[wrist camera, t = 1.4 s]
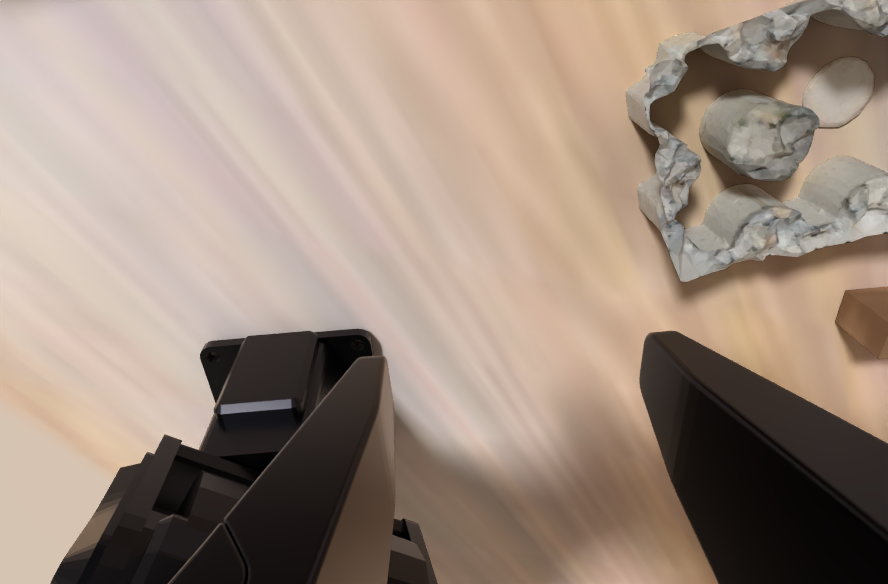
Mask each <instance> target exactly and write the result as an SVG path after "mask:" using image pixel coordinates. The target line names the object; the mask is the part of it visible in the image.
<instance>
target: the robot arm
mask: <svg viewBox="0 0 888 584" xmlns="http://www.w3.org/2000/svg"><path fill="white" fill-rule="evenodd" d="M355 340H360V341H362V342H363V344H361V345H356V344H354V343H353V341H355ZM211 352H215V353H217V354H219V357H215V356H213V355H212V354H211ZM200 359H201V362H202V365H203V368H204V371H205V374H206V376H207V379H208V382H209V385H210V388H211V391H212V394H213V397H214V400H215V403H216V405H215V407H214V415H213V417H212V420H211V422H210V424H209V427H208V429H207V431H206V434H205V436H204V439H203V441H202V443H201V446H200V448H199V450H197V449H194V448H191V447H188V446H185V445H182V444H181V442H182V440H179V439H176V438H173V437H170V436H168V435H164V437H163V439H162V440H161V442H160V444H159V446H158V448H157V450H156V452H155V454H152V453H149V452H147V453H146V455H145V457H144V458H143V460H142V462H141V463H140V464H135V465H131V466H127V467H122V468H120V469H119V471H118V473H117V475H116V477H115V478H114V480H113V482H112V484H111V486H110V487H109V489H108V491H107V493H106V494H105V496H104V498H103V500H102V501H101V503H100V505H99V507H98V508H97V510H96V512H95V513H94V515H93V516H92V518H91V520H90V521H89V522H88V524H87V525H86V527H85V528H84V530H83V531H82V533H81V534H80V535H79V537H78V538H77V540H76V541H75V543H74V544H73V546H72V547H71V549H70V550H69V552H68V553H67V554H66V556H65V557H64V559H63V561H62V562H61V564H60V566H59V568H58V570H57V572H56V573H55V575H54V577H53V579H52V581H51V584H438V583H437V580H436V577H435V574H434V571H433V568H432V565H431V561H430V558H429V555H428V552H427V549H426V546H425V543H424V540H423V536H422V533H421V530H420V527H419V524H418V523H415V522H412V521H409V520H407V519H402V520H401V521H400V520H397V519H394V511H395V451H394V408H393V397H392V390H391V383H390V376H389V369H388V363H387V359H386V358H385V357H384V356H374V353H373V346H372V340H371V337H370V334H369V333H368V332H367V331H365V330H362V329H349V330H337V331H325V332H311V331H303V332H291V333H279V334H268V335H256V336H248V337H247V338H241V339H229V340H218V341H211V342H208V343H207V344H205V346H204V347H203V349H202V351H201V354H200ZM639 379H640V389H641V393H642V396H643V399H644V402H645V405H646V408H647V411H648V414H649V417H650V420H651V423H652V426H653V429H654V432H655V435H656V438H657V441H658V444H659V447H660V450H661V453H662V456H663V459H664V462H665V465H666V468H667V471H668V474H669V477H670V479H671V482H672V484H673V487H674V489H675V491H676V493H677V496H678V498H679V500H680V502H681V504H682V506H683V509H684V511H685V513H686V515H687V517H688V519H689V521H690V524H691V526H692V528H693V530H694V532H695V534H696V536H697V539H698V541H699V543H700V545H701V547H702V549H703V551H704V553H705V556H706V558H707V560H708V562H709V564H710V566H711V568H712V571H713V573H714V575H715V577H716V579H717V581H718V583H719V584H888V443H886V442H884V441H882V440H880V439H879V438H877V437H875V436H873V435H871V434H869V433H867V432H865V431H863V430H862V429H860V428H858V427H856V426H854V425H852V424H850V423H848V422H847V421H845V420H843V419H841V418H839V417H837V416H835V415H833V414H831V413H830V412H828V411H826V410H824V409H822V408H820V407H818V406H816V405H814V404H813V403H811V402H809V401H807V400H805V399H803V398H801V397H799V396H798V395H796V394H794V393H792V392H790V391H788V390H786V389H784V388H782V387H781V386H779V385H777V384H775V383H773V382H771V381H769V380H767V379H765V378H764V377H762V376H760V375H758V374H756V373H754V372H752V371H750V370H748V369H747V368H745V367H743V366H741V365H739V364H737V363H735V362H733V361H732V360H730V359H728V358H726V357H724V356H722V355H720V354H718V353H716V352H715V351H713V350H711V349H709V348H707V347H705V346H703V345H701V344H699V343H698V342H696V341H694V340H692V339H690V338H688V337H686V336H684V335H683V334H681V333H679V332H676V331H665V332H653V333H650V334H648V335H647V336H646V338H645V341H644V347H643V355H642V362H641V369H640V378H639Z"/></svg>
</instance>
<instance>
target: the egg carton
mask: <svg viewBox="0 0 888 584" xmlns="http://www.w3.org/2000/svg"><path fill="white" fill-rule="evenodd" d="M810 16H812V17H813V18H815V19H816V20H818V21H820V22H822V23H825V24H829V25H832V26H836V27H840V28H849V29H856V30H863V31H868V32H870V33H872V34H875V35H879V36H882V37H886V36H888V0H794V1H792V2H790V3H789V4H787V5H785V6H783V7H781V8H779V9H777V10H774V11H771V12H769V13H766V14H764V15H761V16H758V17H756V18H753V19H750V20H748V21H745V22H742V23H740V24H737V25H734V26H731V27H729V28H726V29H723V30H720V31H717V32H714V33H712V34H710V35H709V36H707V37H705V36H699V35H698V34H696V33H695V32H690V33H685V34H678V35H676V36H673V37H670V38H669V39H667V40H665V41H663V42H661V43H660V44H659V47H658V52H657V57H656V60H655V62H654V64H653V65H652V66H648V67H647V68H646V69H645V72H646V74H647V75H646V76H645V77H644V78H643V79H642V80H640V81H639V82H637V83H636V84H635V85H633V86H632V87H630V88H629V89H628V90H627V91H626V102H627V107H628V117H629V118H630V119H631V120H633V121H634V122H635V123H637V124H638V125H639V126H640V127H641V128H642V129H644V130H645V131H647V132H648V134H651V135H653V136H655V137H658V139H659V143H660V146H659V148H658V150H657V152H656V154H655V165H656V169H657V172H656V173H655V174H654V175H653V176H652V177H650V178H649V179H647V180H646V181H644V182H643V183H641V184H640V185H638V189H637V192H638V199H639V208H640V210H641V211H642V212H643V213H644V214H645V215H646V216H647V217H648V219H649V220H650V221H651V222H652V223H654V225H655V226H656V227H657V228H658V229H659V231H660V232H661V234H662V236H663V239H664V241H665V243H666V245H667V247H668V250H669V253H670V256H671V259H672V262H673V264H674V266H675V269H676V271H677V274H678V276H679V278H680V281H684V282H688V281H690V280H693V279H696V278H698V277H701V276H703V275H707V274H710V273H713V272H716V271H720V270H724V269H726V268H728V267H729V266H730V265H731V264H733V263H737V262H741V261H746V260H755V261H760V262H761V261H763V260H764V259H765V257H766V256H769V255H781V256H791V257H799V256H802V255H804V254H806V253H809V252H811V251H813V250H816V249H819V248H823V247H826V246H831V245H837V244H843V243H849V242H852V241H855V240H858V239H860V238H863V237H866V236H871V235H878V234H885V233H888V173H887V172H885V171H883V170H881V169H878V168H876V167H874V166H872V165H869V164H867V163H865V162H863V161H860V160H858V159H856V158H854V157H850V156H836V157H834V158H831V159H828V160H826V161H825V162H823V163H821V164H820V165H818V166H817V167H816V168H815V169H814V170H813V171H812V172H810V174H809V175H808V177H807V178H806V179H805V181H804V182H803V185H802V188H801V190H800V192H799V195H798V197H796V198H794V199H792V200H788V201H785V202H780V201H778V200H777V199H775V198H774V197H772V196H771V195H769V194H768V193H767V192H765V191H764V190H762V189H760V188H759V187H757V186H755V185H752V184H740V185H735V186H732V187H729V188H727V189H725V190H723V191H722V192H720V193H719V194H718V195H717V196H716V197H715V198H714V199H713V200H712V202H711V203H710V205H709V207H708V208H707V211H706V213H705V217H704V220H703V222H702V224H700V225H698V226H694V227H691V228H687V229H685V228H684V227H683V226H682V224H680V223H679V222H678V221H676V220H675V216H676V214H677V212H678V211H680V210H682V209H683V208H685V207H686V206H687V205H688V193H689V187H690V186H691V185H692V184H693V183H694V182H695V180H696V179H697V178H698V177H699V174H700V171H701V166H700V163H701V158H700V156H699V155H697V154H695V153H694V152H692V151H691V150H689V149H688V148H687V144H685V143H683V142H682V141H680V140H678V139H677V138H675V137H674V136H673V135H671V134H670V133H669V132H667V130H665V129H663V128H662V127H660V126H659V125H657V124H656V123H654V122H651V121H650V114H649V110H650V105H651V104H652V102H653V101H655V100H657V99H659V98H660V97H663V96H666V95H668V94H670V93H672V92H674V91H675V89H676V87H677V85H678V84H679V82H680V80H681V79H682V77H683V76H684V75H685V73H686V72H687V71H688V69H689V68H688V66H687V65H686V63H685V55H686V54H687V53H688V52H691V51H693V50H695V49H697V48H699V47H700V48H701V49H702V50H703V51H704V52H705V53H707V54H708V55H710V56H712V57H713V58H717V59H720V60H723V61H726V62H728V63H730V64H733V65H736V66H739V67H743V68H747V69H761V70H767V71H772V72H774V71H777V70H779V69H781V68H783V67H784V66H785V64H786V62H787V54H788V52H789V50H790V47H791V46H792V45H793V44H794V43H795V42H796V41H797V40H798V39H799V38H800V37H801V35H802V34H803V32H804V31H805V29H806V27H807V25H808V22H809V19H810ZM873 88H874V73H873V72H872V71H871V68H870V67H869V65H868V64H867V62H866V61H864V60H861V59H859V58H857V57H842V58H839V59H837V60H836V61H834V62H830V63H829V64H828V65H825V66H824V67H822V68H821V69H820V70H819V71H818V72H817V73H816V74H815V76H814V77H813V78H812V80H811V81H810V82H809V83H808V86H807V88H806V90H805V92H804V96H803V100H802V106H797V105H792V104H788V103H786V102H783V101H780V100H777V99H775V98H772V97H769V96H767V95H764V94H761V93H758V92H755V91H752V90H748V89H736V90H732V91H728V92H727V93H725V94H723V95H721V96H719V97H718V98H717V99H716V100H715V101H714V102H713V103H711V104H710V105H709V107H708V108H707V110H706V111H705V113H704V115H703V117H702V120H701V124H700V128H699V135H700V141H701V143H702V145H703V146H704V148H705V149H706V150H707V151H708V152H709V153H710V154H711V155H713V156H714V157H716V158H717V159H719V160H720V161H721V162H723V163H724V164H726V165H727V166H729V167H730V168H731V169H733V170H734V171H735V172H736V173H738V174H739V175H742V176H746V177H750V178H754V179H757V180H761V181H782V180H784V179H787V178H789V177H791V176H793V174H794V172H795V171H796V169H797V168H798V166H799V163H800V162H802V161H803V160H804V158H805V157H806V155H807V154H808V152H809V149H810V147H811V144H812V140H813V135H814V131H815V129H817V128H818V127H828V128H829V127H840V126H842V125H844V124H846V123H848V122H849V121H851V120H852V119H854V118H855V117H856V116H858V115H859V114H860V113H861V111H862V110H863V109H864V107H865V106H866V105H867V103H868V102H869V100H870V98H871V96H872V94H873Z"/></svg>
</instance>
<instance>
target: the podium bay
mask: <svg viewBox="0 0 888 584" xmlns="http://www.w3.org/2000/svg"><path fill="white" fill-rule="evenodd" d="M835 322H836V323H837V324H838V325H839V326H840V327H842V328H843V329H844V330H845V331H846V332H847V333H849V334H850V335H851V336H852V337H853V338H854V339H856V340H857V341H858V342H859V343H860V344H861V345H863V346H864V347H865V348H866V349H867V350H868V351H870V352H871V353H872V354H873V355H874V356H875V357H877V358H878V359H885V358H888V287H880V288H868V289H856V290H846V291H845V294H844V297H843V300H842V303H841V306H840V309H839V312H838V315H837V318H836V321H835Z"/></svg>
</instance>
